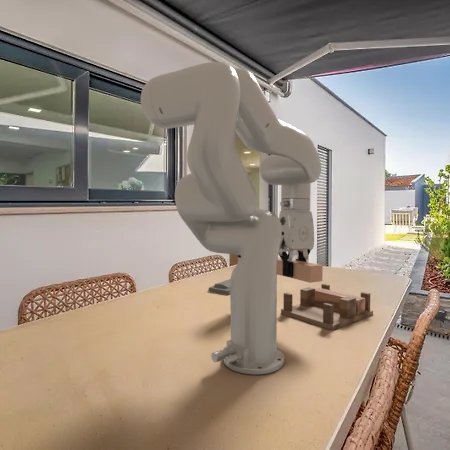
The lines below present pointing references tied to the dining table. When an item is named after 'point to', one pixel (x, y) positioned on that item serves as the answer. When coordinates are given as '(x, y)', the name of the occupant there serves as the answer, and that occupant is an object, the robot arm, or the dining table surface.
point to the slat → (303, 271)
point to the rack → (328, 307)
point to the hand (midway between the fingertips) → (294, 274)
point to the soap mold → (221, 287)
